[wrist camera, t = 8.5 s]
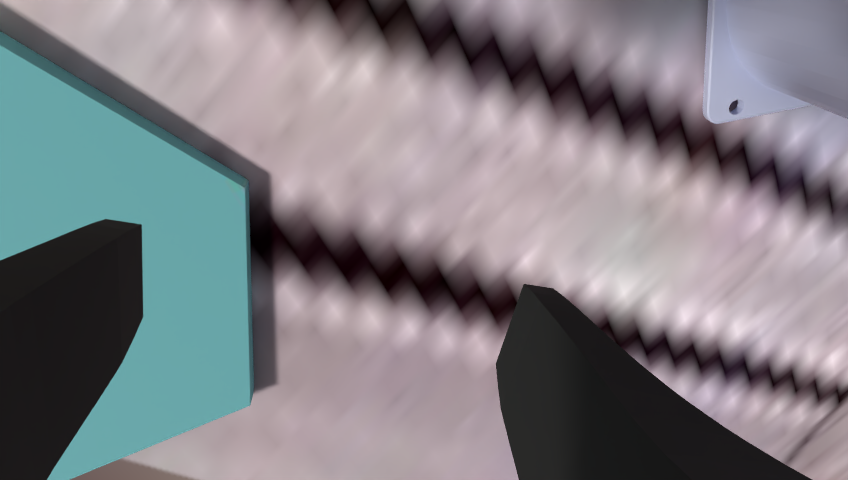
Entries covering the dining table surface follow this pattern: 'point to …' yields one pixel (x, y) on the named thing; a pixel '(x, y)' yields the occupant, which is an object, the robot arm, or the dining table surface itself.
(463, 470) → the dining table surface
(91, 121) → the plaque
